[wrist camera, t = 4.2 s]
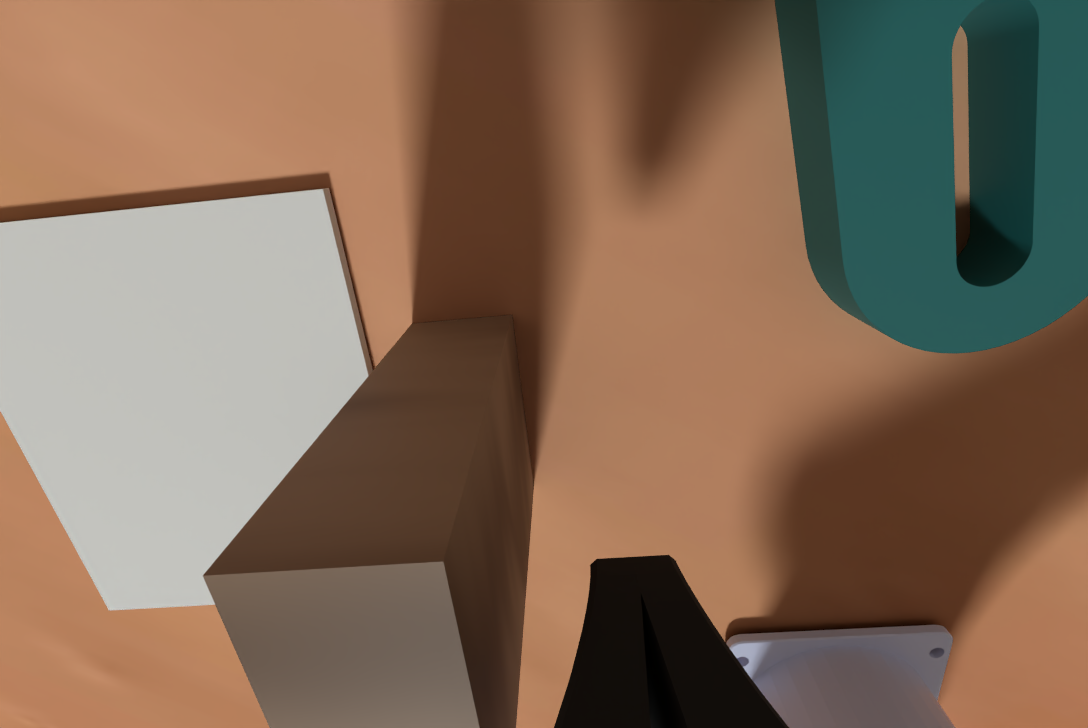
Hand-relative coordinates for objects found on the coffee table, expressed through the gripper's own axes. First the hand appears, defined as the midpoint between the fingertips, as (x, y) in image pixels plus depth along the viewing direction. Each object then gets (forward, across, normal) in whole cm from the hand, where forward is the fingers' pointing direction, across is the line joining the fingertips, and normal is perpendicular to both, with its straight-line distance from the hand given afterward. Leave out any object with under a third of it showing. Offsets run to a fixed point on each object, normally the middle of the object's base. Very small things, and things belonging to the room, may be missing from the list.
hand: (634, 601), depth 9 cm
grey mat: (+8, +13, 0) cm, 15 cm away
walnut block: (+8, +4, 0) cm, 9 cm away
